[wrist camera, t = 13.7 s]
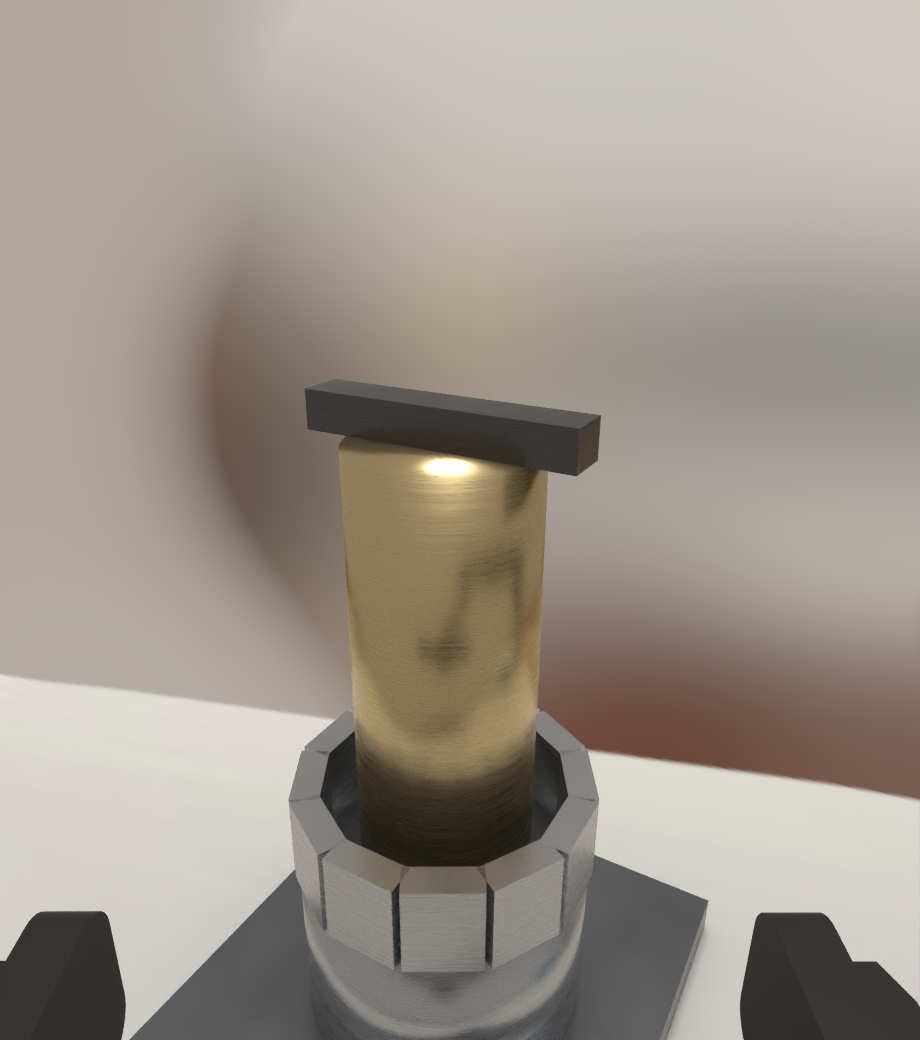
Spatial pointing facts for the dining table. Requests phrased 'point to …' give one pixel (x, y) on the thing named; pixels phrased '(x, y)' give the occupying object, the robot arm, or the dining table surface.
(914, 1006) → the robot arm
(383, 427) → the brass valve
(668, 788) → the dining table surface
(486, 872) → the pipe socket
